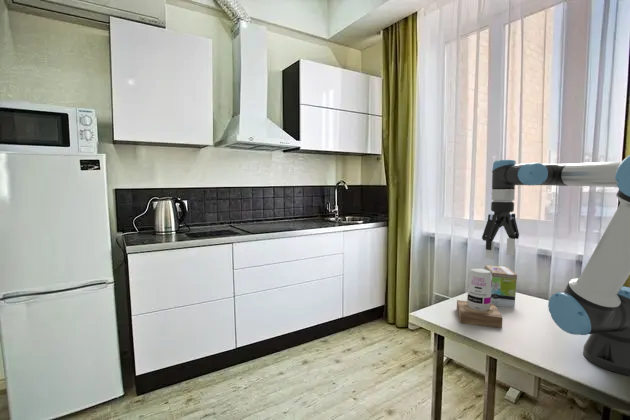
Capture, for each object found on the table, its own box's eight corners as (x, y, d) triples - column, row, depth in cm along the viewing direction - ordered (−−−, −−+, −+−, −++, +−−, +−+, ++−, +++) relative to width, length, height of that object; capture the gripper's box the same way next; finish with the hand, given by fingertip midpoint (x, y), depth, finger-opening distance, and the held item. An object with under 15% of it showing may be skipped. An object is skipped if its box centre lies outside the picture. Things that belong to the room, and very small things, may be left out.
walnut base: (501, 328, 120) (502, 317, 120) (460, 322, 124) (461, 312, 124) (493, 313, 133) (494, 303, 133) (456, 309, 138) (457, 299, 137)
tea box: (515, 308, 139) (517, 274, 138) (489, 305, 142) (491, 272, 141) (505, 296, 154) (507, 265, 153) (482, 294, 157) (483, 264, 155)
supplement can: (484, 304, 132) (486, 268, 131) (493, 312, 124) (496, 273, 123) (463, 303, 133) (465, 267, 132) (471, 311, 125) (473, 272, 124)
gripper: (511, 200, 133) (509, 252, 134) (472, 201, 121) (470, 258, 122) (531, 201, 126) (528, 255, 128) (492, 202, 114) (490, 262, 115)
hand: (500, 256), depth 125 cm, fingers open, 13 cm apart
